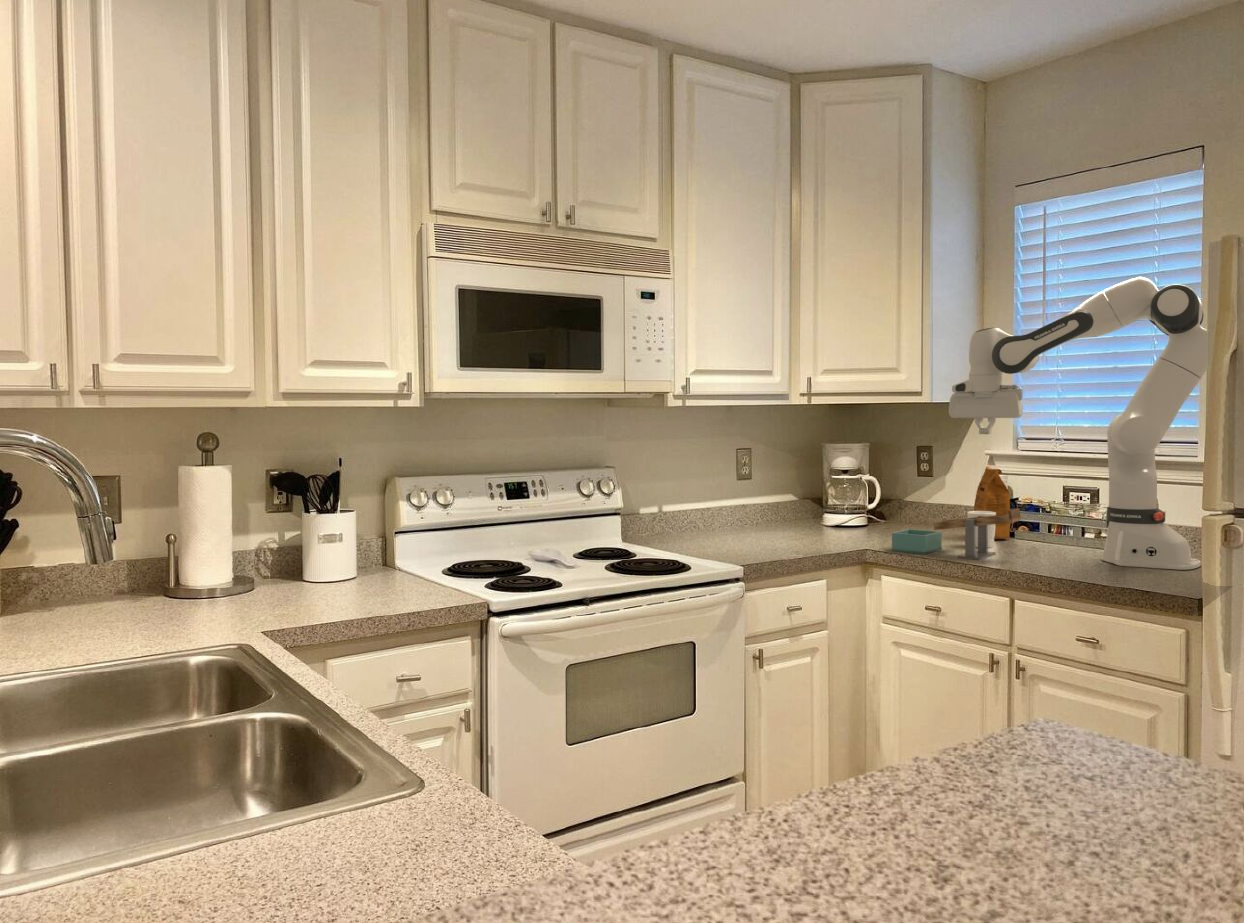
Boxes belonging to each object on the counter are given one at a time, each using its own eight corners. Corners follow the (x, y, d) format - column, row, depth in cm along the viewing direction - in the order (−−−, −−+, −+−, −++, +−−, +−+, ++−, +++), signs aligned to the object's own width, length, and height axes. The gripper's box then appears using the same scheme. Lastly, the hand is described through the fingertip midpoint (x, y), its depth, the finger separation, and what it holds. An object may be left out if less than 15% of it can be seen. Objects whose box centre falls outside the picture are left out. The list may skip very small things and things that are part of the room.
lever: (1030, 518, 260) (1028, 506, 260) (1012, 523, 251) (1010, 510, 251) (953, 525, 275) (951, 514, 275) (934, 530, 266) (932, 518, 266)
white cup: (1000, 548, 275) (1000, 513, 274) (972, 548, 275) (972, 514, 274) (990, 543, 282) (990, 510, 282) (963, 544, 283) (963, 511, 282)
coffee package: (1002, 535, 299) (1002, 465, 298) (1013, 541, 287) (1013, 468, 286) (969, 535, 301) (969, 466, 299) (979, 541, 288) (979, 469, 287)
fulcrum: (995, 554, 263) (995, 516, 263) (979, 559, 255) (979, 520, 255) (974, 552, 267) (974, 515, 267) (957, 557, 259) (957, 519, 259)
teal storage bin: (941, 549, 274) (941, 531, 273) (925, 554, 266) (925, 535, 266) (908, 546, 281) (908, 528, 280) (892, 550, 273) (891, 532, 273)
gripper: (1026, 384, 265) (1026, 434, 266) (955, 386, 279) (955, 433, 280) (1018, 384, 261) (1017, 434, 261) (946, 386, 275) (946, 434, 275)
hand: (985, 434), depth 271 cm, fingers closed
